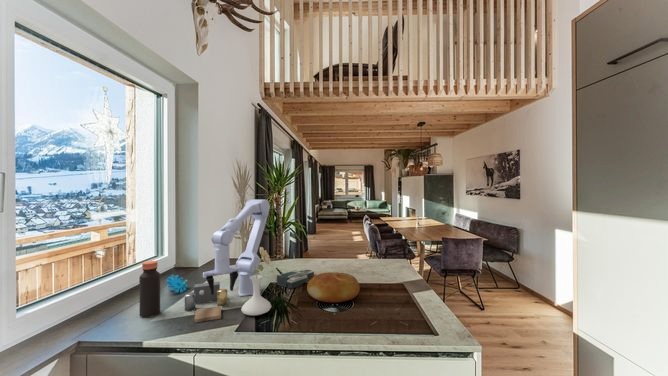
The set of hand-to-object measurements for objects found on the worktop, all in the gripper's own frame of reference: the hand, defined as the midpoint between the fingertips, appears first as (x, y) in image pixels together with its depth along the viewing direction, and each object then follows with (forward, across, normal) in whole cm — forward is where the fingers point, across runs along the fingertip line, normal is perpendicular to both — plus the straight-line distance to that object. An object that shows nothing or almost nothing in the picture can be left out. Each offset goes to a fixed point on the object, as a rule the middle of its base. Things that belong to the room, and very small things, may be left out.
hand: (222, 292), depth 119 cm
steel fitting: (+5, +12, -3) cm, 13 cm away
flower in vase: (+6, -10, +14) cm, 19 cm away
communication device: (+6, -40, -10) cm, 42 cm away
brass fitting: (+5, 0, 0) cm, 5 cm away
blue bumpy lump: (+6, +14, -28) cm, 32 cm away
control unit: (+5, +4, -8) cm, 11 cm away
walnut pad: (+5, +7, +8) cm, 12 cm away
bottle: (+6, +25, -7) cm, 27 cm away
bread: (+6, -44, +18) cm, 48 cm away
